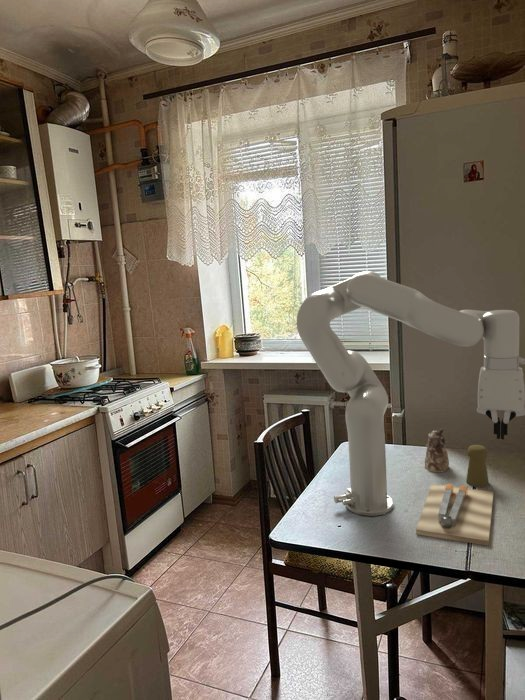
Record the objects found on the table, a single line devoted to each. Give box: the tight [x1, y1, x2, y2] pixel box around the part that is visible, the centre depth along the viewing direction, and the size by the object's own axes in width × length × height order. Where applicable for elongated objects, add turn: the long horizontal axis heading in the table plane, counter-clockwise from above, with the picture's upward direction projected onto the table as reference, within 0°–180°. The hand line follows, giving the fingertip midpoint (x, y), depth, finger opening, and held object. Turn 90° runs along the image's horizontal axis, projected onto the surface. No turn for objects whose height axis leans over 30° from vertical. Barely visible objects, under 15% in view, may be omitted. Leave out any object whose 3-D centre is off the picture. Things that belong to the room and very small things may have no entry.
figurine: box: [424, 428, 450, 473], centre depth 162 cm, size 7×7×12 cm
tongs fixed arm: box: [438, 483, 454, 522], centre depth 135 cm, size 18×2×2 cm, turn 154°
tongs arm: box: [441, 484, 469, 528], centre depth 133 cm, size 20×3×2 cm, turn 151°
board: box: [415, 483, 494, 547], centre depth 134 cm, size 26×16×1 cm, turn 154°
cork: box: [465, 444, 489, 488], centre depth 149 cm, size 6×6×11 cm
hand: (500, 437), depth 126 cm, fingers closed
